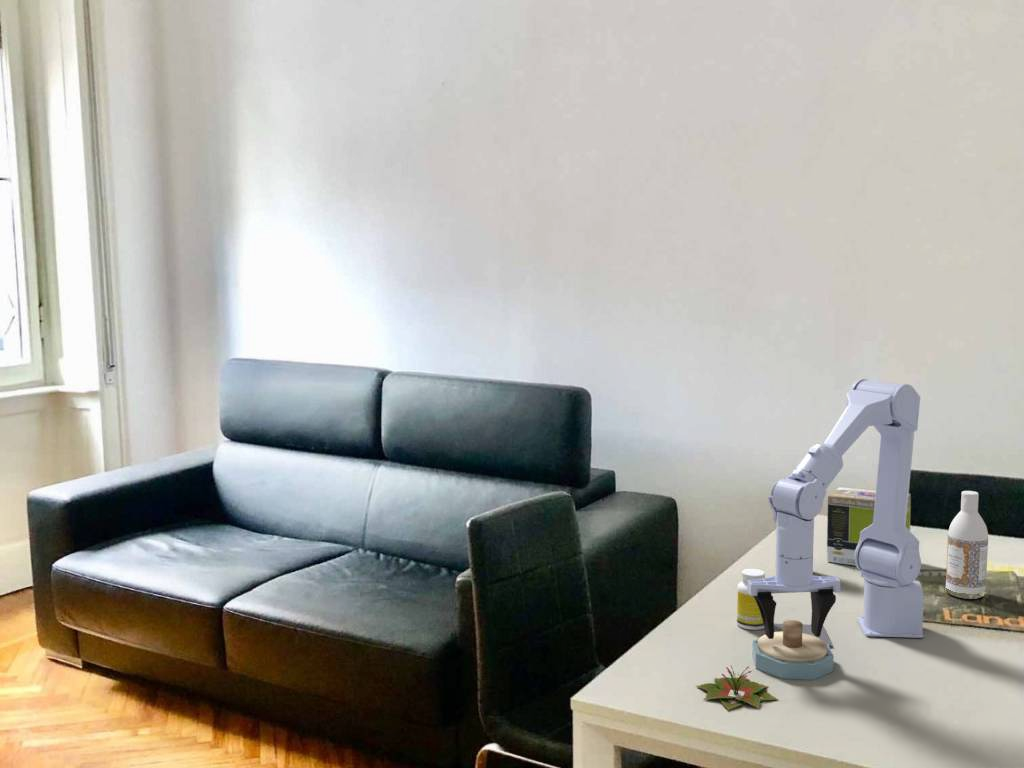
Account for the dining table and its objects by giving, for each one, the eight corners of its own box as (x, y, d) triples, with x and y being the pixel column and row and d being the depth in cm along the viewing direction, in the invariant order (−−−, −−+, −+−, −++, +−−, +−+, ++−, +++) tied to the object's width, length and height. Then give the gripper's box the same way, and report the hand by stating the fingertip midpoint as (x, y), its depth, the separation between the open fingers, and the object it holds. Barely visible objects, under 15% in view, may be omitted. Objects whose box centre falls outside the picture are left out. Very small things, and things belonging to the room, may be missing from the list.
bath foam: (937, 591, 194) (941, 490, 192) (964, 586, 197) (969, 486, 194) (966, 603, 188) (971, 498, 185) (993, 597, 191) (998, 494, 188)
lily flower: (681, 687, 156) (681, 659, 156) (746, 674, 160) (747, 646, 160) (724, 721, 145) (724, 691, 144) (793, 706, 149) (794, 676, 149)
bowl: (823, 649, 168) (824, 635, 168) (837, 680, 156) (837, 665, 156) (750, 647, 170) (750, 632, 169) (758, 677, 158) (758, 662, 158)
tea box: (910, 560, 213) (912, 492, 211) (899, 574, 205) (902, 503, 203) (837, 549, 221) (839, 484, 219) (825, 562, 213) (826, 494, 211)
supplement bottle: (768, 631, 176) (769, 577, 175) (736, 630, 177) (737, 576, 176) (767, 620, 182) (768, 567, 180) (736, 618, 183) (737, 566, 181)
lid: (839, 658, 159) (840, 633, 158) (775, 665, 157) (776, 639, 156) (807, 632, 169) (808, 608, 168) (746, 638, 167) (747, 614, 166)
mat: (822, 627, 178) (822, 625, 178) (832, 647, 169) (832, 645, 169) (770, 625, 179) (770, 623, 179) (776, 645, 170) (777, 643, 170)
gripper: (829, 544, 165) (827, 624, 167) (742, 548, 164) (741, 627, 166) (846, 558, 158) (844, 640, 160) (755, 561, 157) (754, 644, 159)
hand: (792, 635), depth 162 cm, fingers open, 7 cm apart
